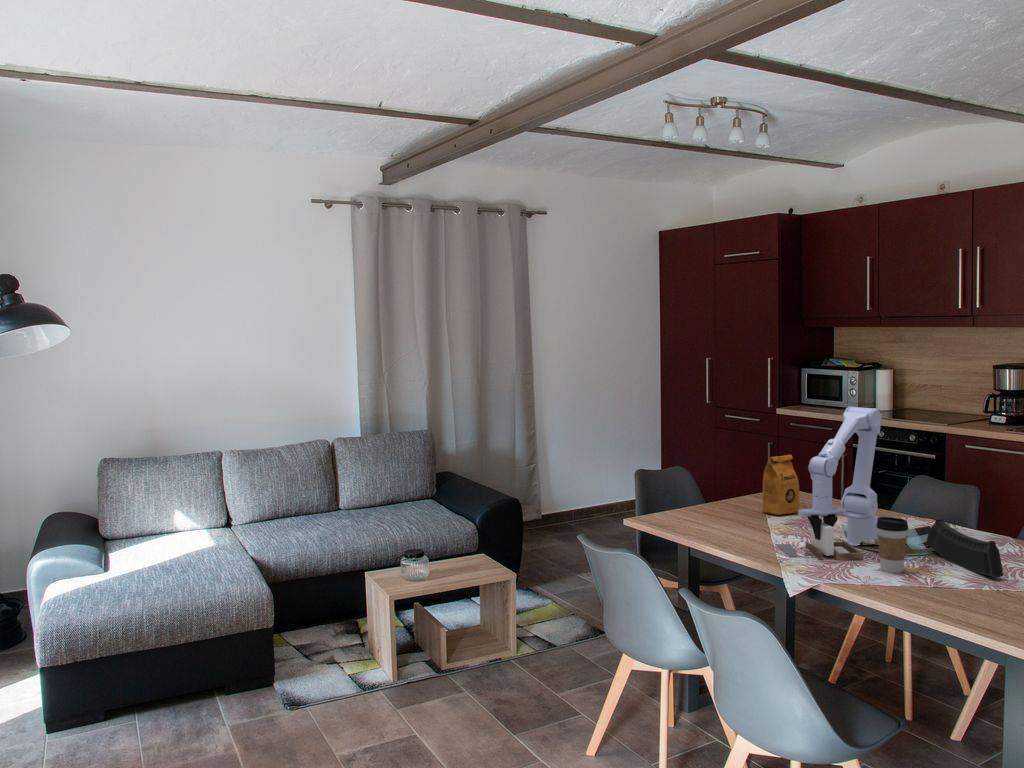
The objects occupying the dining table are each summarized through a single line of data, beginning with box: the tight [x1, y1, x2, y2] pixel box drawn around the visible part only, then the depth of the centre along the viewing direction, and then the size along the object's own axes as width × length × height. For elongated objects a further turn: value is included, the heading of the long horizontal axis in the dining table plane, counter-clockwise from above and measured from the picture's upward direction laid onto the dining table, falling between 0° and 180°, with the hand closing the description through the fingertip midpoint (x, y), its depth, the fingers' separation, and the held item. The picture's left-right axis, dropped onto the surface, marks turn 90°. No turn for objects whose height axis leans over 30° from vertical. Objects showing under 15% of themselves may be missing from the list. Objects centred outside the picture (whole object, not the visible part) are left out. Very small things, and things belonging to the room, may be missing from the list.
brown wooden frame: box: [804, 540, 864, 562], centre depth 254 cm, size 13×14×2 cm
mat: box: [775, 543, 813, 558], centre depth 258 cm, size 7×14×1 cm, turn 179°
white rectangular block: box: [810, 521, 835, 557], centre depth 254 cm, size 2×10×8 cm, turn 6°
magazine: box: [926, 518, 1004, 578], centre depth 239 cm, size 17×3×30 cm
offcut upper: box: [834, 547, 849, 553], centre depth 254 cm, size 3×7×1 cm, turn 177°
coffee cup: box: [876, 516, 909, 574], centre depth 236 cm, size 8×8×15 cm
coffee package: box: [762, 454, 801, 516], centre depth 308 cm, size 10×12×22 cm
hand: (822, 538), depth 254 cm, fingers closed on white rectangular block, 2 cm apart
